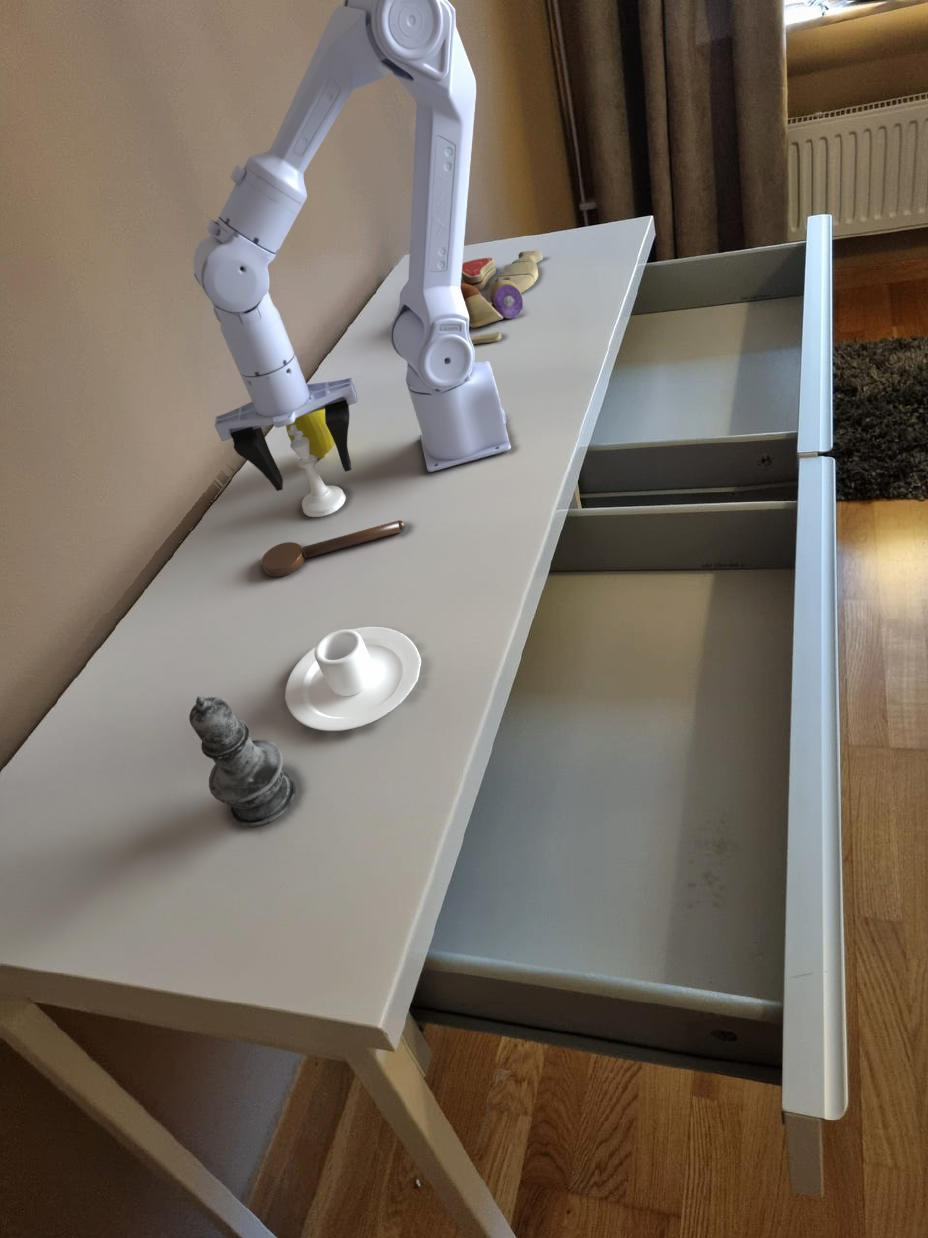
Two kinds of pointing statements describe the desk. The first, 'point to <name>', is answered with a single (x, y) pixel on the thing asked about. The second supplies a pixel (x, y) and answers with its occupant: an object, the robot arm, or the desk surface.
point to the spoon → (320, 548)
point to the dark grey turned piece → (241, 765)
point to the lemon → (314, 432)
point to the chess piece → (315, 481)
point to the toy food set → (497, 290)
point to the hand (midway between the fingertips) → (313, 475)
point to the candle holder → (352, 678)
